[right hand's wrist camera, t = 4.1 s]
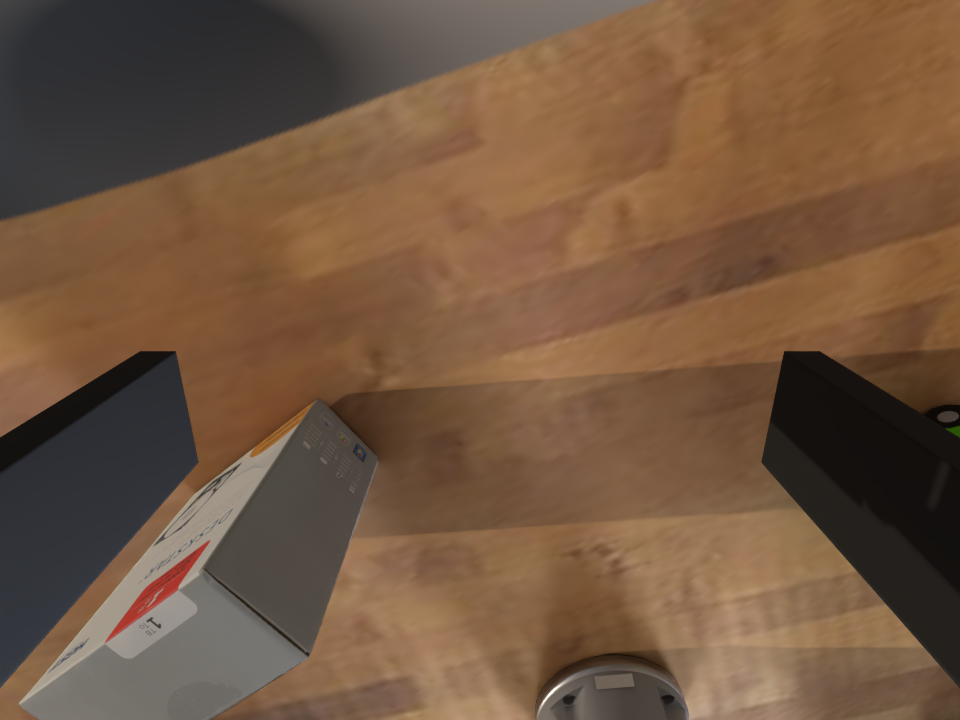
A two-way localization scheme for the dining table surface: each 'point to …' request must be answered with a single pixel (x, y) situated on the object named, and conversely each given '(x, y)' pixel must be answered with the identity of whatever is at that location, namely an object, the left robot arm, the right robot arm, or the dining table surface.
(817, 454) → the right robot arm
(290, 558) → the hard drive box
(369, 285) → the dining table surface
